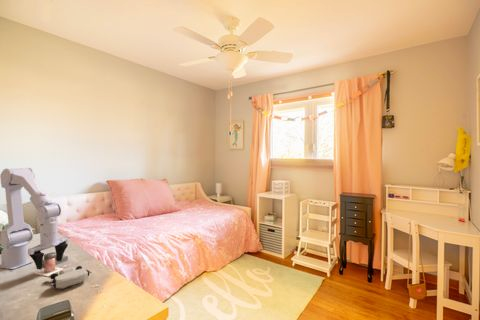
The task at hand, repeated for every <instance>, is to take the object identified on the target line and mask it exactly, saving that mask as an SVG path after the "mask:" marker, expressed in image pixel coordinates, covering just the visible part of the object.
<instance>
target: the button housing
mask: <svg viewBox="0 0 480 320" xmlns="http://www.w3.org/2000/svg"><path fill="white" fill-rule="evenodd" d="M68 257H69V256H68V255H64V254H63V257H62V261H57V260H56V259H55V266H57V265H60V264H62V263H64V262H65V263H66V262H67V261H68V260H69V258H68ZM42 264H43V266H44V259H43V261H42Z"/></svg>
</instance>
